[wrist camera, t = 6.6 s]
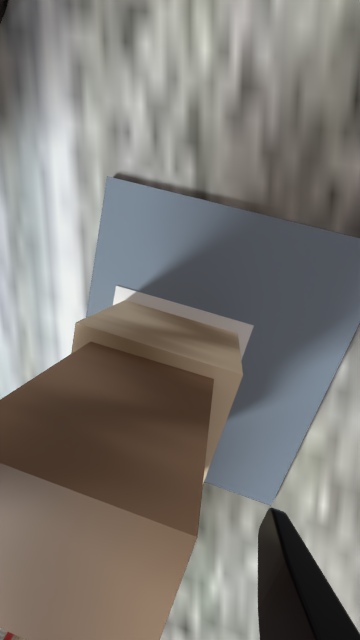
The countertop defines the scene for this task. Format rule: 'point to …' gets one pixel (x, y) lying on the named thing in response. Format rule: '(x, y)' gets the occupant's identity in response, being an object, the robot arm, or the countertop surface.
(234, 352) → the maple base block
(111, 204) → the building mat
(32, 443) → the brown block
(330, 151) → the countertop surface
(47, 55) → the countertop surface
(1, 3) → the manual coffee grinder
